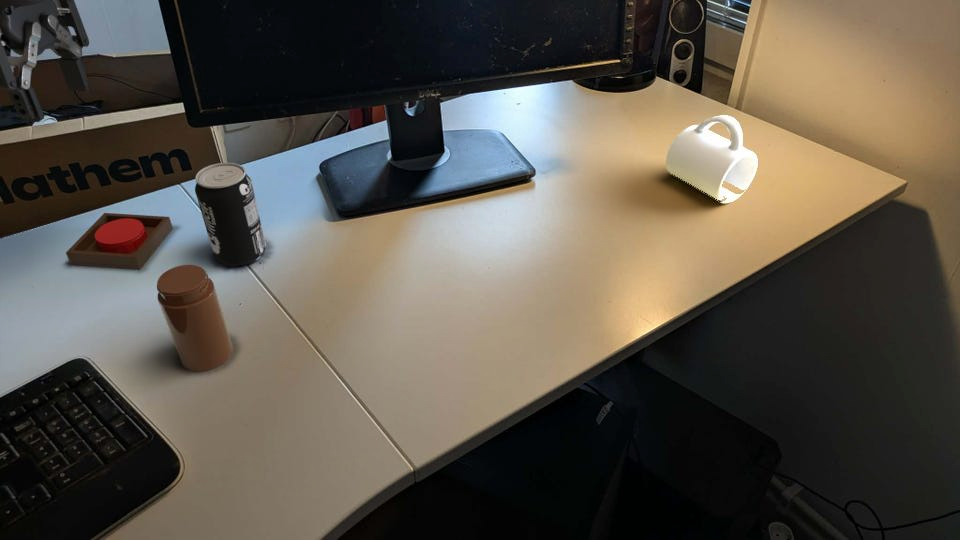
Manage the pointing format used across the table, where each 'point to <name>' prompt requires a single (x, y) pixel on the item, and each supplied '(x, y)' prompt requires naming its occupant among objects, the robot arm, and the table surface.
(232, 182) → the beverage can
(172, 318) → the jar
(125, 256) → the tray
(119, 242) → the jar lid
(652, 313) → the table surface
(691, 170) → the mug
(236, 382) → the table surface
